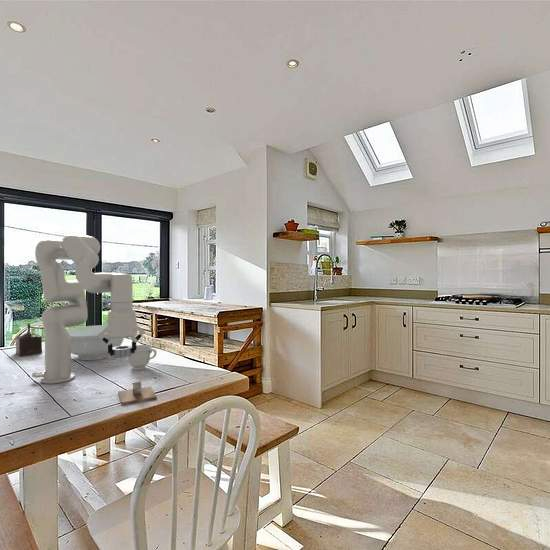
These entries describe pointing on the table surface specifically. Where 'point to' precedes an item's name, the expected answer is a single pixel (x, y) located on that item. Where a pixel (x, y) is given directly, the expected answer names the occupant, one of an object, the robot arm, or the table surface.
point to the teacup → (141, 357)
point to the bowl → (90, 342)
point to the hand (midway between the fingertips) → (122, 353)
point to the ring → (122, 351)
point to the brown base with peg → (136, 394)
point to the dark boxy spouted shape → (29, 343)
